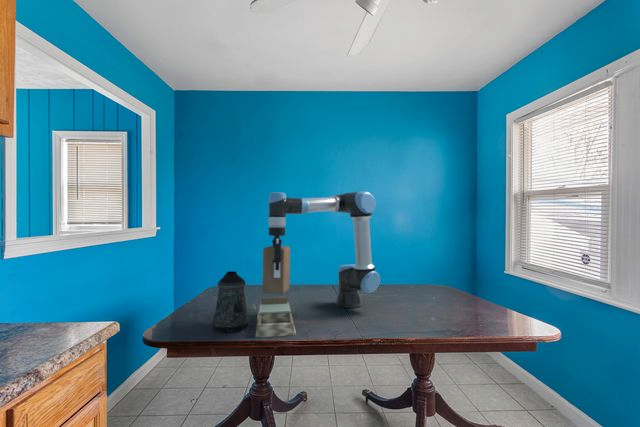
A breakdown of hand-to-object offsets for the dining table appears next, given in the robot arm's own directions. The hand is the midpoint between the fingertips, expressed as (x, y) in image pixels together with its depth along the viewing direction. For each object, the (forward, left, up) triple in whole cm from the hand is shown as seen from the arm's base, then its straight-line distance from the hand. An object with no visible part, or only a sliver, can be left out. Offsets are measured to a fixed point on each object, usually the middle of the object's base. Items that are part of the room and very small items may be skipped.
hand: (276, 274), depth 140 cm
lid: (0, -14, -19) cm, 24 cm away
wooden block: (0, 0, -8) cm, 8 cm away
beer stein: (+21, -7, -25) cm, 33 cm away
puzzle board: (0, -8, -25) cm, 26 cm away
